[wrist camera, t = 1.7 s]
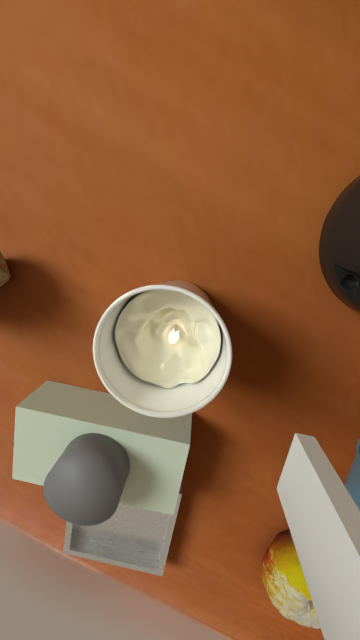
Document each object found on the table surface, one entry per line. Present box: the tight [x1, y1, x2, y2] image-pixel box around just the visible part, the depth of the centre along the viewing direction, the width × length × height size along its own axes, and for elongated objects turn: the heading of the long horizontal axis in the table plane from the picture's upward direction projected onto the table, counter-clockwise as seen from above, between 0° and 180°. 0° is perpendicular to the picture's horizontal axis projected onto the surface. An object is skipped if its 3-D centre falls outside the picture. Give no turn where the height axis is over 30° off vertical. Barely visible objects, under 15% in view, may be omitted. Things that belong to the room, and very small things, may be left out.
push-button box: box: [12, 380, 192, 526], centre depth 30 cm, size 18×9×10 cm, turn 79°
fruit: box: [260, 529, 321, 629], centre depth 35 cm, size 11×10×8 cm
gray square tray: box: [63, 478, 183, 576], centre depth 37 cm, size 14×14×2 cm
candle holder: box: [93, 280, 232, 418], centre depth 25 cm, size 10×10×12 cm
